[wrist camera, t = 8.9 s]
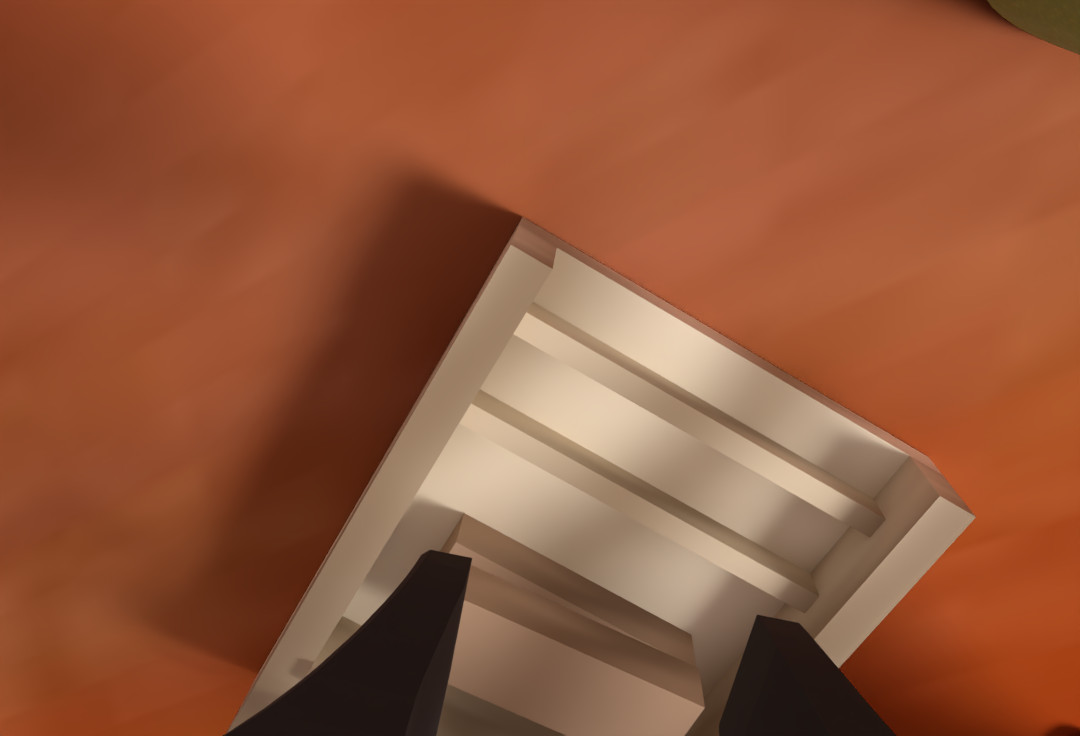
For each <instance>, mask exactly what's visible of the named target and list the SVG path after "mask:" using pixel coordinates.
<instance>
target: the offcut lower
mask: <svg viewBox="0 0 1080 736" xmlns="http://www.w3.org/2000/svg"><path fill="white" fill-rule="evenodd" d="M440 552H445V553H450V554H455V555H460V556H465V557H470V558H472V562H471V565H472V566H474V567H476V568H479V569H481V570H483V571H485V572H487V573H490V574H492V575H494V576H496V577H498V578H501V579H503V580H505V581H507V582H510V583H512V584H514V585H516V586H518V587H521V588H523V589H525V590H527V591H529V592H532V593H534V594H536V595H538V596H540V597H543V598H545V599H547V600H549V601H552V602H554V603H556V604H558V605H560V606H563V607H565V608H567V609H569V610H571V611H574V612H576V613H578V614H580V615H582V616H585V617H587V618H589V619H591V620H594V621H596V622H598V623H600V624H602V625H605V626H607V627H609V628H611V629H613V630H616V631H618V632H620V633H622V634H624V635H627V636H629V637H631V638H633V639H636V640H638V641H640V642H642V643H644V644H647V645H649V646H651V647H653V648H655V649H658V650H660V651H662V652H664V653H667V654H669V655H671V656H673V657H675V658H678V659H680V660H682V661H684V662H686V663H689V664H691V665H693V666H695V667H696V662H695V655H694V649H693V643H692V636H691V634H689V633H687V632H686V631H684V630H682V629H680V628H678V627H676V626H674V625H672V624H671V623H669V622H667V621H665V620H663V619H661V618H659V617H658V616H656V615H654V614H652V613H650V612H648V611H646V610H644V609H643V608H641V607H639V606H637V605H635V604H633V603H631V602H629V601H628V600H626V599H624V598H622V597H620V596H618V595H616V594H615V593H613V592H611V591H609V590H607V589H605V588H603V587H601V586H600V585H598V584H596V583H594V582H592V581H590V580H588V579H587V578H585V577H583V576H581V575H579V574H577V573H575V572H573V571H572V570H570V569H568V568H566V567H564V566H562V565H560V564H559V563H557V562H555V561H553V560H551V559H549V558H547V557H545V556H544V555H542V554H540V553H538V552H536V551H534V550H532V549H531V548H529V547H527V546H525V545H523V544H521V543H519V542H517V541H516V540H514V539H512V538H510V537H508V536H506V535H504V534H503V533H501V532H499V531H497V530H495V529H493V528H491V527H489V526H488V525H486V524H484V523H482V522H480V521H478V520H476V519H475V518H473V517H471V516H469V515H467V514H465V513H464V514H463V516H462V517H461V519H460V520H459V522H458V524H457V525H456V527H455V528H454V530H453V531H452V533H451V535H450V536H449V538H448V539H447V541H446V542H445V544H444V546H443V547H442V549H441V550H440Z"/></svg>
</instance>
